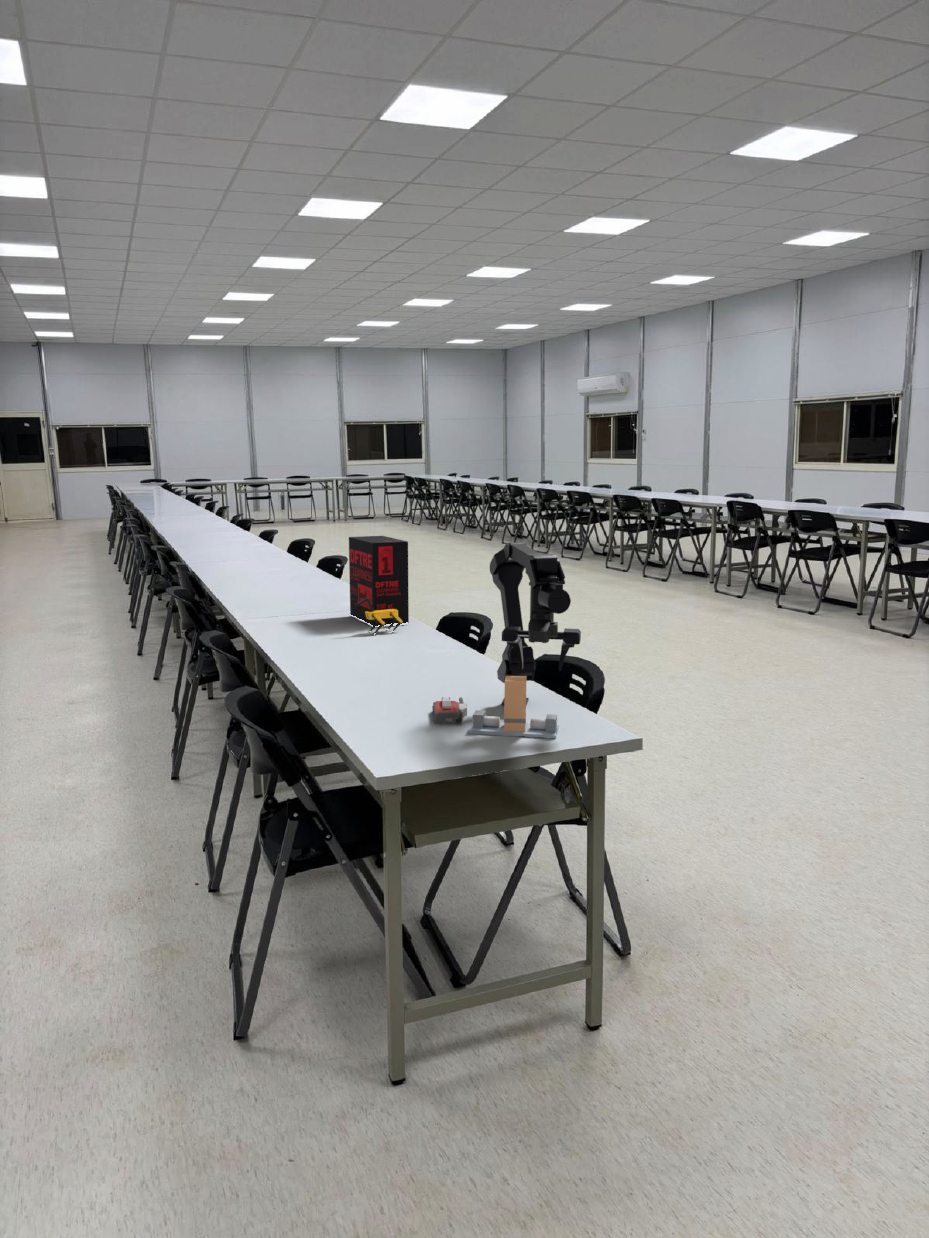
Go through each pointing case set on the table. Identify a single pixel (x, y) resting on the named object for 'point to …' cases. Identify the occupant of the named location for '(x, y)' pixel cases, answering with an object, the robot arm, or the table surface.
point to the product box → (378, 576)
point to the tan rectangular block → (515, 703)
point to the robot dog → (380, 615)
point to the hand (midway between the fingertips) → (540, 669)
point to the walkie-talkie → (449, 711)
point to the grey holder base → (495, 727)
